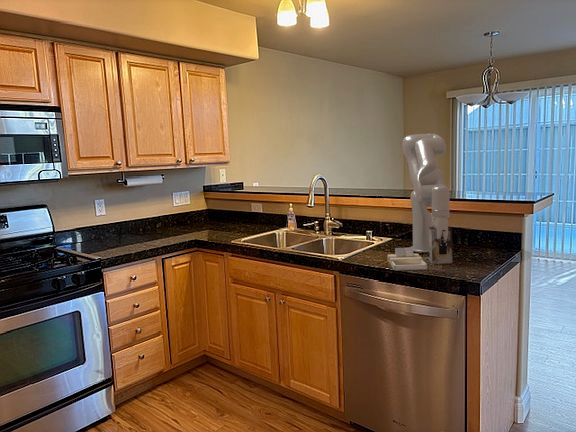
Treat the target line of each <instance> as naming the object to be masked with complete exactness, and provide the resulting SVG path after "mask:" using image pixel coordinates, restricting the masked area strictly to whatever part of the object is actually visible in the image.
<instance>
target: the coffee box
mask: <svg viewBox="0 0 576 432" xmlns="http://www.w3.org/2000/svg"><path fill="white" fill-rule="evenodd" d="M441 239H443V237H441ZM442 241H443V240H441V242H442ZM439 245H440V241H439V239H438V240H437V239H436V229H435V228H434V227H429V252H428V253H429V262H430V263H431V264H432V265H435V264H436V265H437V264H440V265H441V264H444V265H445V264H453V228H452V227H450V226H448V239H447V254H439Z"/></svg>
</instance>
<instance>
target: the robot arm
mask: <svg viewBox="0 0 576 432" xmlns="http://www.w3.org/2000/svg"><path fill="white" fill-rule="evenodd" d="M446 144H447V143H446V141H445V139H444V138H443V137H441V136H440V135H439V134H436V133H418V134H417V133H416V134H408V135H406V136H404V138H403V139H402V144H401V145H402V146H401V147H402V151H403V155H404V157H405V159H406V161H407V164H408V171H409V178H410V183H411V186H413V189H414V190H412V191H411V193H410V204H411V212H412V213H411V214H412V245H411V246H410V247H412V248H413V253H415V252H416V253H429V227H434V228H435V229H436V239H437V240H438V239H439V241H440V245H439V254H447V239H448V227H449V221H448V218H450V188H449V187H448V186H446V185H445V180H444V175H443V172H442V170H440V168H438V165H439V163H438V160H437V156H439V155H444V154H445V153H446V150H447V145H446ZM428 208H431V212H430V210H428ZM441 237H443V239H441ZM441 240H443V241H442V242H441Z"/></svg>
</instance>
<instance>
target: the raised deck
mask: <svg viewBox="0 0 576 432" xmlns="http://www.w3.org/2000/svg"><path fill="white" fill-rule="evenodd" d="M423 259H424V258H423V257H422V256H421V255H420V254H419V252H416V253H413V257H405V256H404V257H396V256H395V253H394V254H392V253H391V254H389V253H388V254H387V263H388V264H389V265H390V266H391V261H393V262H394V263H395V265H411V264H421V260H423ZM423 261H424V260H423Z"/></svg>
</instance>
